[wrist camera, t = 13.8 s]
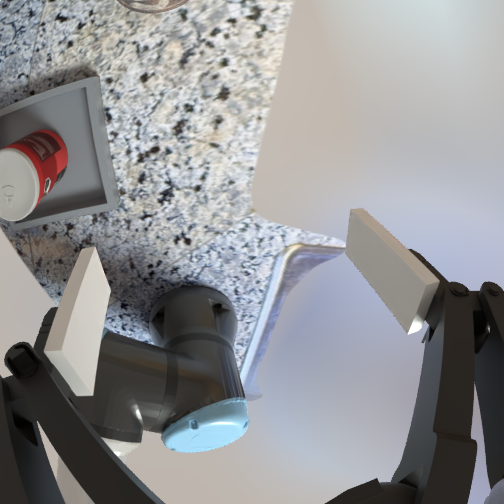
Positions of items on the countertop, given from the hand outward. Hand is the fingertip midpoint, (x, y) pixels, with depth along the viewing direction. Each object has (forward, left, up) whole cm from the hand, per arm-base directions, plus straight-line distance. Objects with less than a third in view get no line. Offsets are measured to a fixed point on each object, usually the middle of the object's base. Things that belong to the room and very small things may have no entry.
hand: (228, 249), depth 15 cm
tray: (+2, +20, -27) cm, 33 cm away
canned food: (+2, +21, -26) cm, 34 cm away
